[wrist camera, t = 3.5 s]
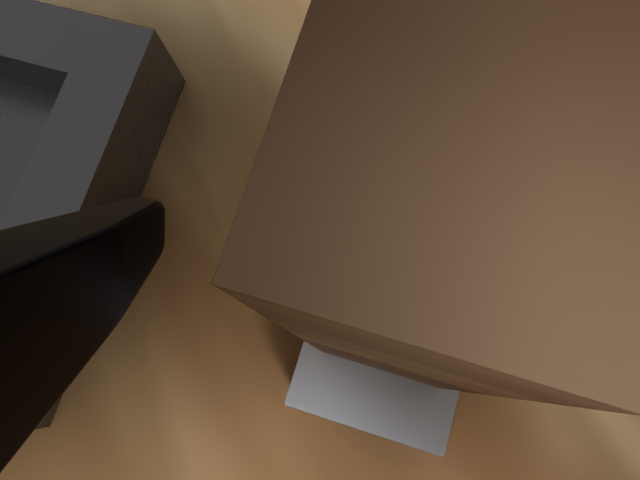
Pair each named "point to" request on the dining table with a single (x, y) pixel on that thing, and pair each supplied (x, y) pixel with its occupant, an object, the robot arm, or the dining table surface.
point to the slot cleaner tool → (450, 210)
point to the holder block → (77, 111)
